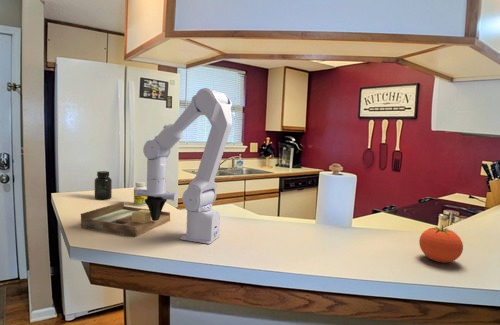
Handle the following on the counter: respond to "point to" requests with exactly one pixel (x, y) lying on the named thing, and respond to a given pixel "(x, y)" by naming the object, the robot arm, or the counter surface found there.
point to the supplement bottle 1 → (103, 186)
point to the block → (141, 216)
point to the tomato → (441, 244)
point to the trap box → (119, 220)
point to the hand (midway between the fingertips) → (155, 219)
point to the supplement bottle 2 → (140, 199)
